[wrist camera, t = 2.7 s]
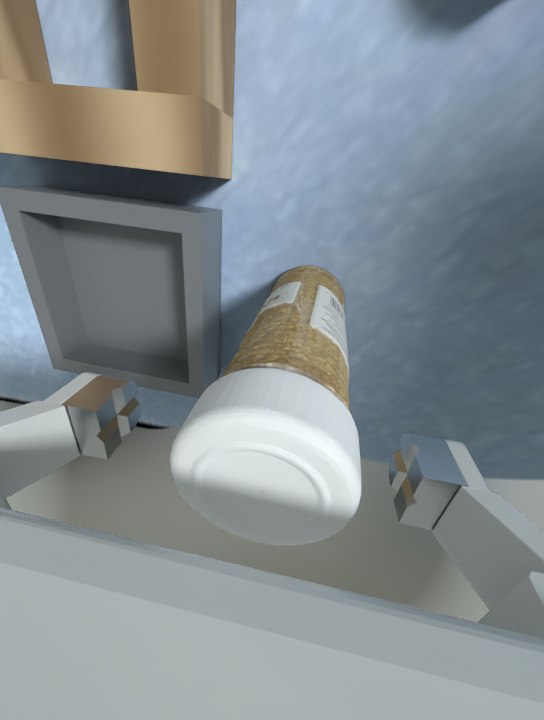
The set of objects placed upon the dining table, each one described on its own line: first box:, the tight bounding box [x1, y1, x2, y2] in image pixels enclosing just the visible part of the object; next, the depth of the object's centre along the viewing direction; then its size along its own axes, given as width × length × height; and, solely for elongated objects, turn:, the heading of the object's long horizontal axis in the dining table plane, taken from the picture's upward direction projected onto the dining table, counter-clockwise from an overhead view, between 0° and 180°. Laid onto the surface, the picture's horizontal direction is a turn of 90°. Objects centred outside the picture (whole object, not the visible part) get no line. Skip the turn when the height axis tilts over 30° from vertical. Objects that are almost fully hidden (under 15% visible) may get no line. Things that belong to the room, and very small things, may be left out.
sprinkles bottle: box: [170, 266, 361, 546], centre depth 12 cm, size 5×5×13 cm
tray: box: [0, 186, 222, 398], centre depth 19 cm, size 11×11×3 cm
